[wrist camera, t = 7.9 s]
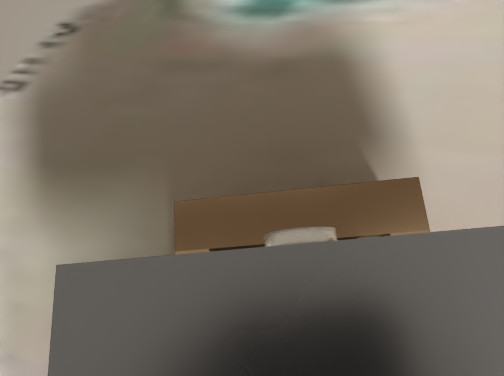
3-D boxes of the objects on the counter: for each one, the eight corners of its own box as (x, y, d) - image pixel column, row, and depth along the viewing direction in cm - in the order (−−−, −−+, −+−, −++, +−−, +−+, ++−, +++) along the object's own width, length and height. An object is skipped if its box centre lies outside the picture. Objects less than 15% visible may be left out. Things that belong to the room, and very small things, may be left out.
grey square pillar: (366, 346, 14) (816, 819, 2) (252, 352, 15) (19, 753, 2) (352, 254, 15) (586, 172, 3) (245, 263, 16) (59, 225, 3)
